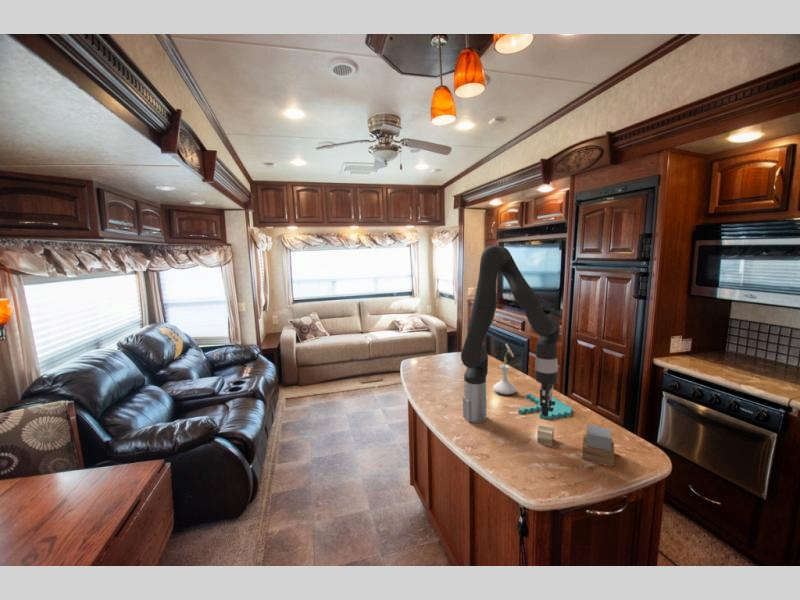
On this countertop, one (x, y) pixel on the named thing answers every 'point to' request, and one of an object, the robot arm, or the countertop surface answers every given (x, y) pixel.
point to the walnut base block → (598, 453)
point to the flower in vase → (505, 378)
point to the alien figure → (553, 412)
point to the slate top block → (599, 437)
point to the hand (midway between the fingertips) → (546, 410)
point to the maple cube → (545, 435)
